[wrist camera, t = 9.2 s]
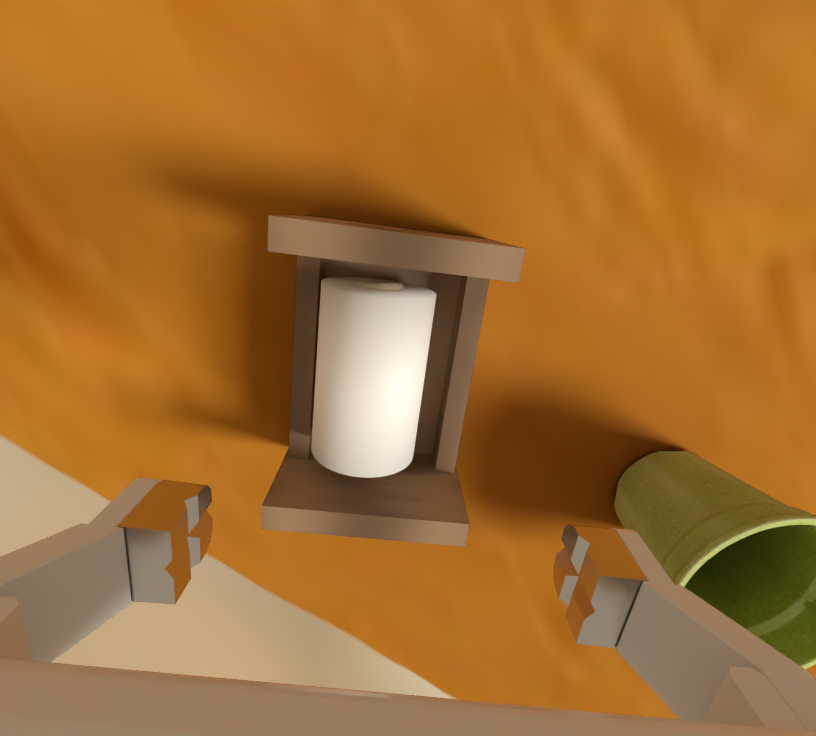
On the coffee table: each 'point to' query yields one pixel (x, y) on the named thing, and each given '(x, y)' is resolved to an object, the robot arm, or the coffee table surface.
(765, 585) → the plant pot
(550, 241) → the coffee table surface
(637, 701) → the coffee table surface
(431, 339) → the walnut cradle
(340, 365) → the paper roll
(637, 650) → the robot arm
